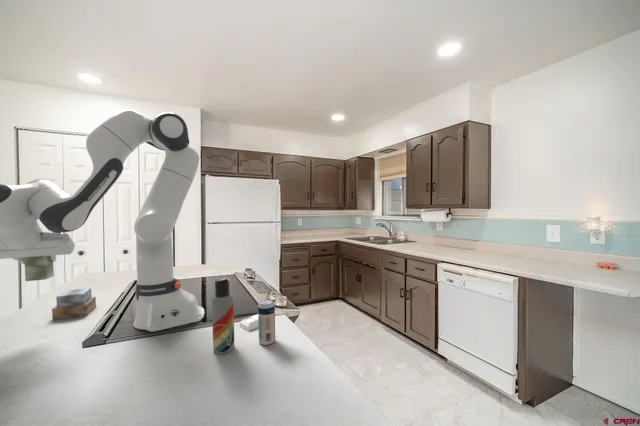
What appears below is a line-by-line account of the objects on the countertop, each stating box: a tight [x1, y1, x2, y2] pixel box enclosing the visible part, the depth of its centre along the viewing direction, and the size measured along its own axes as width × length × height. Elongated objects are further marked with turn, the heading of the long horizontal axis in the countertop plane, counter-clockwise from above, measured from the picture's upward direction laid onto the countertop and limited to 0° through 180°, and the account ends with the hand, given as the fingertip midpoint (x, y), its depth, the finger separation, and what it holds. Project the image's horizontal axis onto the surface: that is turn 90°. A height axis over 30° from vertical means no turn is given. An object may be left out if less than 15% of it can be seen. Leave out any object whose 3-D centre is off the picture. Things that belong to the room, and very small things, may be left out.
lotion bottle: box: [211, 278, 235, 355], centre depth 80 cm, size 6×6×20 cm
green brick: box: [23, 256, 55, 282], centre depth 91 cm, size 5×5×10 cm
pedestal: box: [51, 287, 97, 321], centre depth 109 cm, size 10×10×8 cm
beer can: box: [257, 299, 276, 346], centre depth 84 cm, size 5×5×12 cm
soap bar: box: [239, 313, 258, 332], centre depth 97 cm, size 5×9×3 cm, turn 139°
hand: (40, 261), depth 92 cm, fingers closed on green brick, 5 cm apart
